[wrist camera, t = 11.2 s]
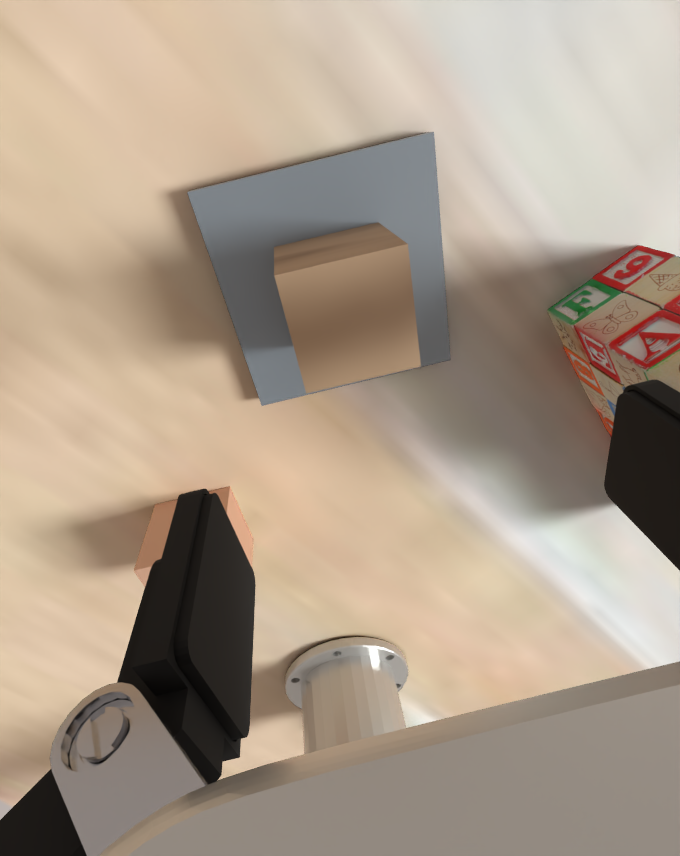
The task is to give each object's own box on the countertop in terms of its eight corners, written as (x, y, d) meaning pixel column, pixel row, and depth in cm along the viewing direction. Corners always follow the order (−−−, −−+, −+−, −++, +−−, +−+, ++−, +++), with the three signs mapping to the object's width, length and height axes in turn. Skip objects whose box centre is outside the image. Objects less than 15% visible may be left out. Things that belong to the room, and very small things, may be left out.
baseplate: (445, 353, 29) (450, 359, 28) (262, 398, 29) (261, 405, 28) (427, 132, 22) (434, 131, 21) (190, 190, 22) (187, 192, 21)
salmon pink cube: (253, 538, 35) (250, 604, 30) (185, 554, 35) (170, 623, 30) (230, 485, 32) (222, 549, 27) (155, 503, 32) (133, 570, 27)
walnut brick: (392, 323, 26) (420, 366, 21) (299, 345, 26) (306, 393, 21) (378, 222, 23) (407, 244, 18) (273, 246, 23) (274, 275, 18)
